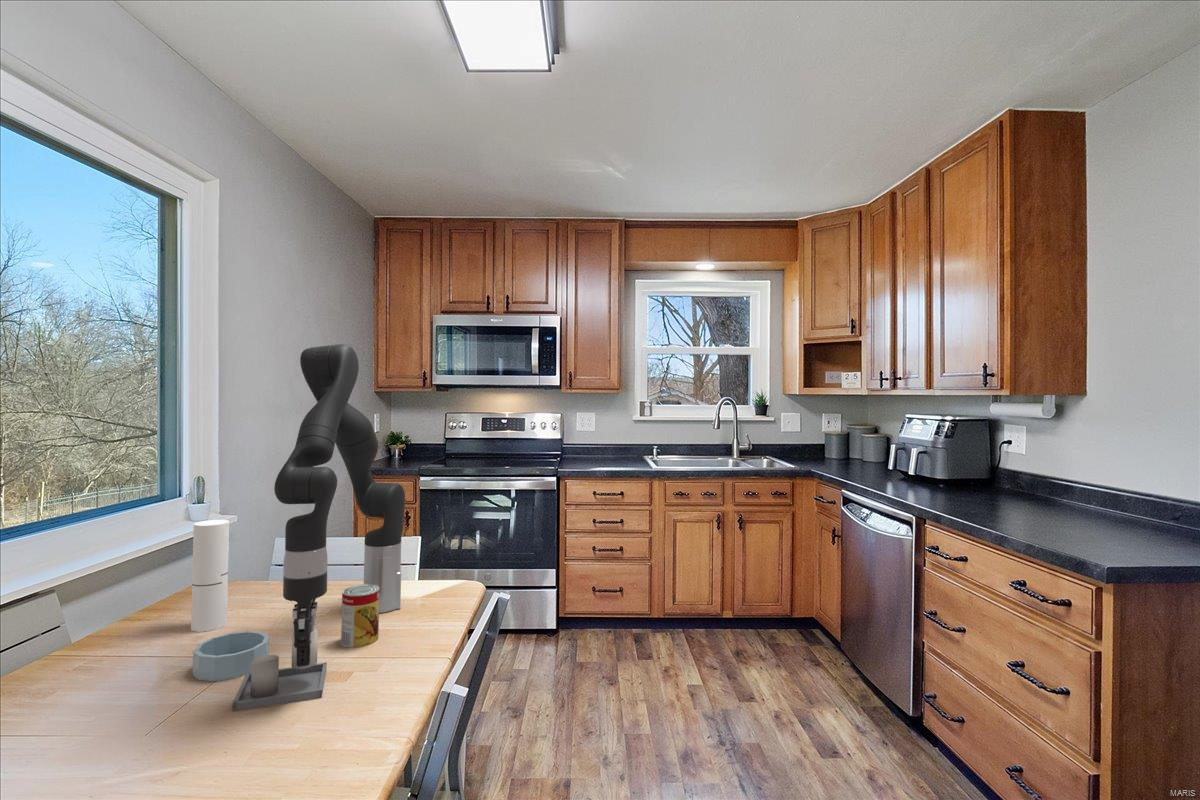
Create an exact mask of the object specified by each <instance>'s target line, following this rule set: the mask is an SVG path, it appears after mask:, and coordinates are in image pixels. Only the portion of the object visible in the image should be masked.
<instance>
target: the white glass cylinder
mask: <svg viewBox="0 0 1200 800" xmlns="http://www.w3.org/2000/svg"><path fill="white" fill-rule="evenodd" d="M318 633H319V631H318V628H315V627H314V630H313V632H311V645H310V663H309V665H307V666H301V667H298V666H297V665H296V662H297V648H295V646H294V633H293V632H292V633H291V667H292V668H294V669H305V668H309V667H311V666H314V665H315V664H318ZM304 639H306V637H299V640H304Z"/></svg>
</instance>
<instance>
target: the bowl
mask: <svg viewBox="0 0 1200 800" xmlns="http://www.w3.org/2000/svg"><path fill="white" fill-rule="evenodd" d="M269 651H270V636H269V635H268V634H266V633H265V632H263V631H256V630H255V631H254V630H243V631H237V632H236V631H235V632H228V633H224V634H221V635H217V636H213V637H211V638H209V639H207V640H204V641H202V642H201V643H198V644H197V645H196V647H195V648H194V649H193V651H192V676H193V677H195V678H196V679H197V680H198V681H208V682H209V681H210V682H218V681H225V680H233V679H237V678H239V677H240V678H241V677H243V676H246V674H247V673H251V662H252V661H253V660H254V659H256V658H258V657H261V656H265V655H270V654H269V653H270V652H269Z"/></svg>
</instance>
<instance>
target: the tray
mask: <svg viewBox="0 0 1200 800" xmlns="http://www.w3.org/2000/svg"><path fill="white" fill-rule="evenodd" d="M327 664H328V663H327V661H326V662H320V663H318V662H317V663H316V664H315V665H314V666H311V667H309V668H305V669H294V668H292V666H290V667H283V668H279V673H278V691H277V692H276V693H275V694H273V695H271V696H269V697H263V698H252V697H251V673H247V674H246V675H244V678H243V681H242V683H241V685H240V687H239V689H238V692H237V694H236V696H235V698H234V700H233V702H232V712H238V711H244V710H246V711H247V710H251V709H258V708H262V707H263V708H264V707H265V708H266V707H270V706H271V707H272V706H276V705H284V704H288V703H290V704H291V703H294V702H295V703H296V702H301V701H308V700H309V701H310V700H314V699H315V700H316V699H321V698H323V693H324V686H325V683H326V682H325V680H326V674H327V666H328V665H327Z"/></svg>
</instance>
